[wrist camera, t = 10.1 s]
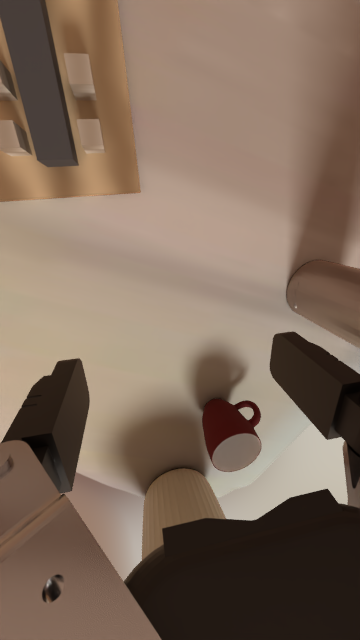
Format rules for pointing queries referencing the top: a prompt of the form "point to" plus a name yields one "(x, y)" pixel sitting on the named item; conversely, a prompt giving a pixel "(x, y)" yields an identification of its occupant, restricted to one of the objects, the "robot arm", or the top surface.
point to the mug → (230, 434)
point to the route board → (74, 110)
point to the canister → (176, 504)
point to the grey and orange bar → (39, 80)
